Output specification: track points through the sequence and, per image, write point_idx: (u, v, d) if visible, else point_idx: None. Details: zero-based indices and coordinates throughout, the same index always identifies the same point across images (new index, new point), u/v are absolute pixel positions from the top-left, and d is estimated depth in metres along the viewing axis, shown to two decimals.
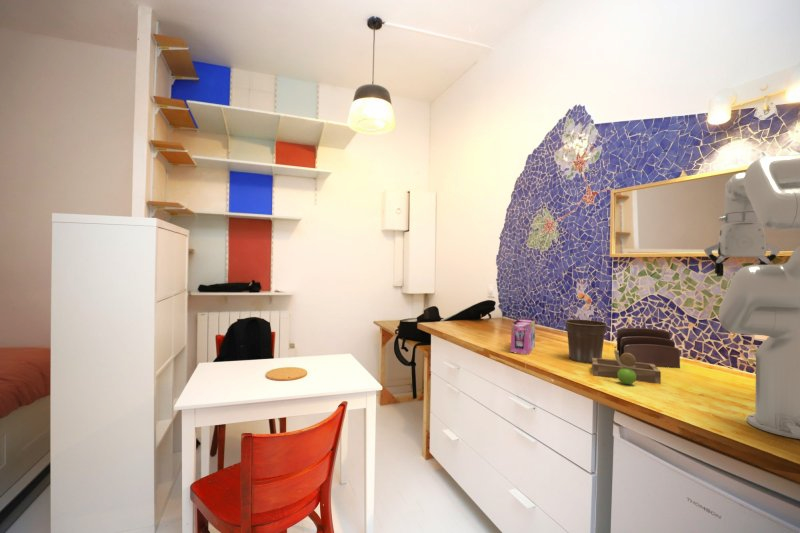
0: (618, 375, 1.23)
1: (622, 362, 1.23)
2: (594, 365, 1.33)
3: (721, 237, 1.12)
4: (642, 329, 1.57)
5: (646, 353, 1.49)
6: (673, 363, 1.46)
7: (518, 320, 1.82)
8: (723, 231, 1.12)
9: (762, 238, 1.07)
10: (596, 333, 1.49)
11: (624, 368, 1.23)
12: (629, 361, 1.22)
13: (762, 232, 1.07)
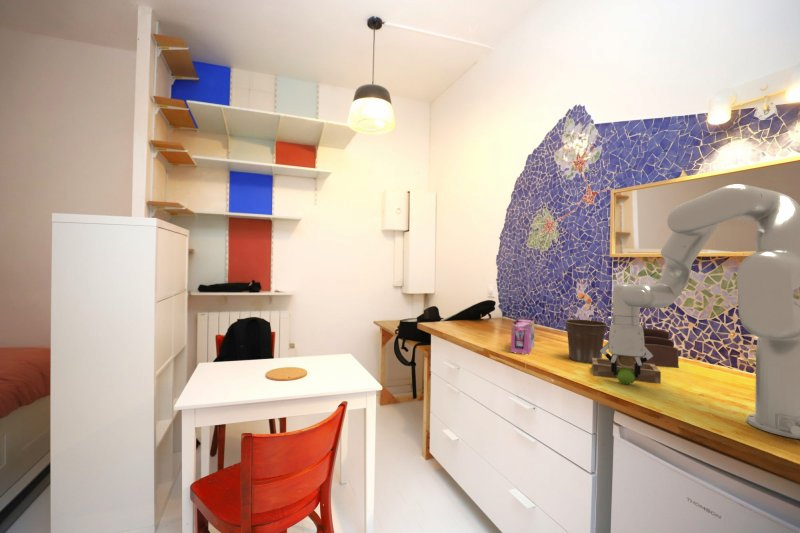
0: (617, 375, 1.23)
1: (621, 362, 1.23)
2: (594, 365, 1.33)
3: (609, 336, 1.24)
4: None
5: (645, 353, 1.49)
6: (672, 362, 1.47)
7: (517, 320, 1.83)
8: (610, 331, 1.24)
9: (641, 341, 1.19)
10: (596, 333, 1.49)
11: (623, 368, 1.23)
12: (628, 361, 1.22)
13: (641, 335, 1.19)
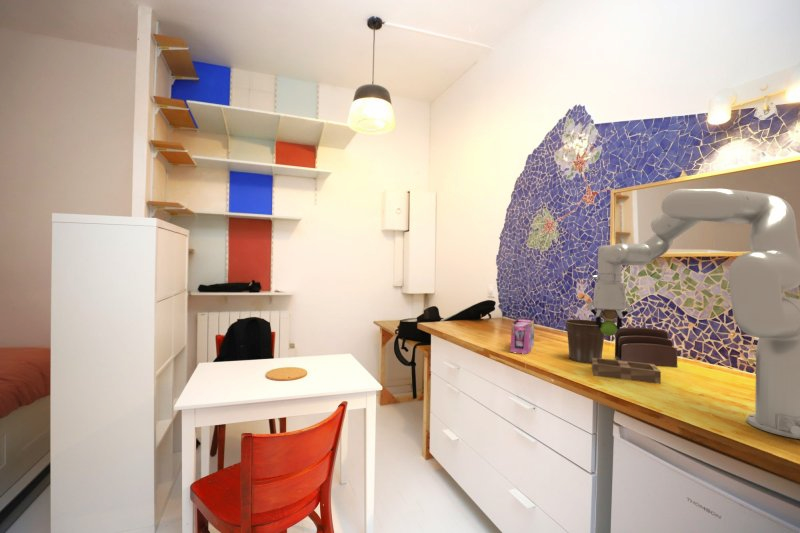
0: (601, 327, 1.36)
1: (605, 316, 1.36)
2: (594, 365, 1.33)
3: (594, 292, 1.37)
4: (640, 329, 1.58)
5: (643, 352, 1.50)
6: (671, 362, 1.47)
7: (517, 320, 1.83)
8: (595, 288, 1.37)
9: (622, 295, 1.32)
10: (596, 333, 1.49)
11: (606, 321, 1.36)
12: (611, 314, 1.35)
13: (622, 290, 1.32)
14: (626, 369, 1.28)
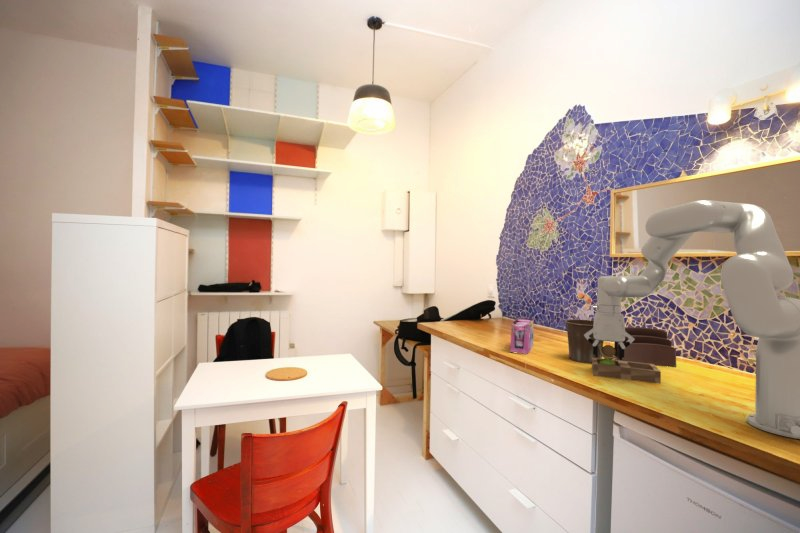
0: None
1: (604, 353, 1.36)
2: (594, 365, 1.33)
3: (593, 323, 1.37)
4: (639, 328, 1.59)
5: (642, 352, 1.51)
6: (670, 361, 1.48)
7: (517, 320, 1.83)
8: (594, 319, 1.36)
9: (622, 327, 1.32)
10: None
11: (605, 359, 1.36)
12: (609, 352, 1.35)
13: (622, 322, 1.32)
14: (626, 369, 1.28)
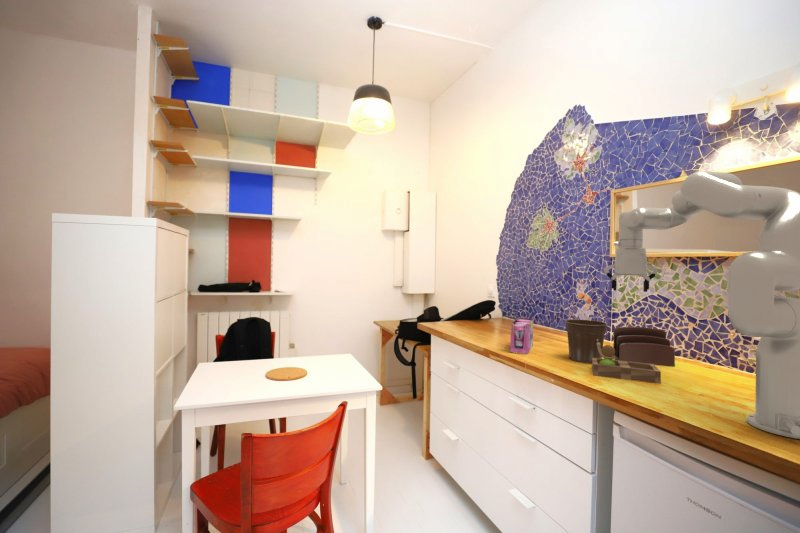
0: None
1: (603, 353, 1.36)
2: (594, 365, 1.33)
3: (615, 259, 1.38)
4: (638, 328, 1.59)
5: (641, 351, 1.51)
6: (668, 361, 1.49)
7: (516, 320, 1.83)
8: (616, 254, 1.37)
9: (644, 260, 1.33)
10: (596, 333, 1.49)
11: (605, 359, 1.36)
12: (609, 352, 1.35)
13: (644, 255, 1.33)
14: (626, 369, 1.28)
